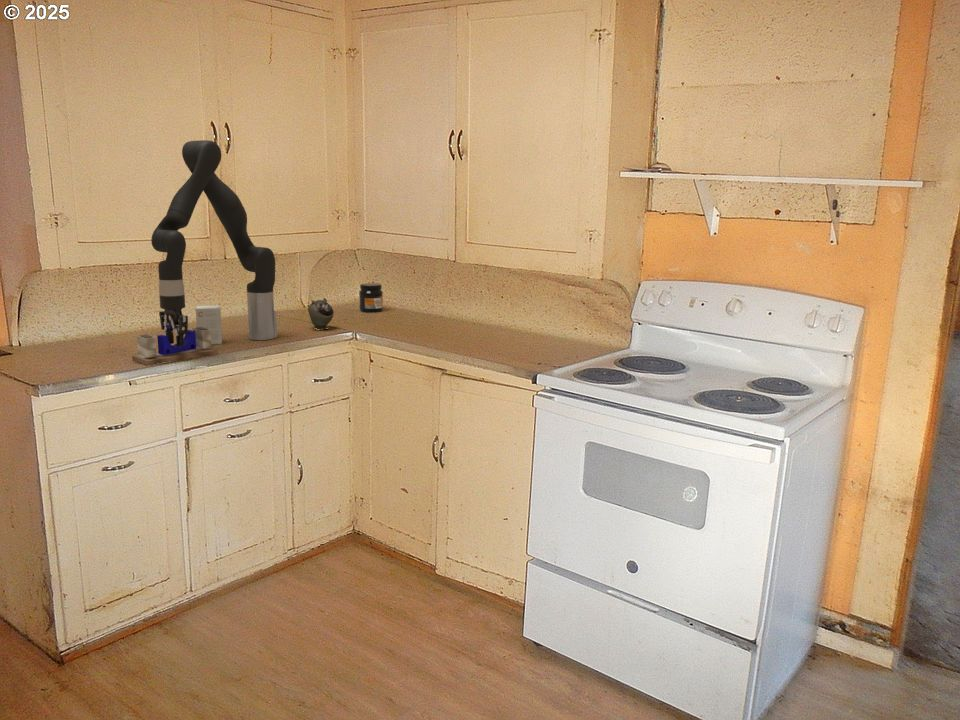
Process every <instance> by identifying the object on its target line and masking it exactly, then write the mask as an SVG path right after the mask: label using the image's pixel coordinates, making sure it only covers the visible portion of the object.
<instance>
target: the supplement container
mask: <svg viewBox="0 0 960 720" xmlns="http://www.w3.org/2000/svg"><path fill="white" fill-rule="evenodd" d="M382 286H383V285H382V284H381V283H375V282H367V283H361V284H359V288H360V290H359V291H358V292H359V307H358V308H359V310H360V312H364V313H380V312H382V311H383V309H384V308H383V305H384V303H383V301H384V299H383V295H384V293H383V290H382V288H383V287H382ZM379 311H380V312H379Z"/></svg>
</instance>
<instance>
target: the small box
mask: <svg viewBox="0 0 960 720" xmlns="http://www.w3.org/2000/svg"><path fill="white" fill-rule="evenodd" d="M221 313H222V312H221V305H216V304H215V305H197V306H195V321H196V328H197V327H203V328H207V329H209V330H210V331H211V345H223V332H222V331H223V330H222V317H221V316H222V314H221Z"/></svg>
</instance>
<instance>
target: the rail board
mask: <svg viewBox="0 0 960 720" xmlns="http://www.w3.org/2000/svg"><path fill="white" fill-rule="evenodd" d="M192 330H193V331H195V335H196V349H193V350H188V351H183V352H178V353H173V354H168V355H162V354H159V353H158V351H157V344H156V341H157V340H156V337H155V336H153V335H149V334H139V335H136V343H137V345H136V346H137V347H136V348H137V354H135V355H132V356H131V357H132V361H133V362H136V363H138V364H142V365H144V364H145V365H144V366H147V365H150V366H154V365H153V364H156V365H158V364H157V363H162V362H168V363H170V362H169V361H174V362H177V361H176V360H180V361H185V360H184V359H186V360H190V359H189V358H192V359H197V358H196V357H198V358H202V357H201V356H204V357H209V355H210V356H214V355H215V356H216V355H219V353H218V352H219V351H218V349H215V348H213V347H212V344H211V331H210V330H209V329H207V328H203V327H197V326H196V327H194V328H193V327H192ZM162 364H163V363H162Z"/></svg>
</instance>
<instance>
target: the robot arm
mask: <svg viewBox="0 0 960 720" xmlns="http://www.w3.org/2000/svg"><path fill="white" fill-rule="evenodd" d="M181 155H182V159H183V161H184V163H185V165H186V167H187V169H188V170H189V172H190V174H191V175H190V176H189V177H188V179H187V180H186V181H185V182H184V184H183V185H182V186H180V187H179V188H178V190H177V191H176V193H175V194H174V195H173V197H172V200H171V202H170V205H169V207H168V209H167V212H166V215H165V216H164V217H163V218H162V219H161V220H160V222H159V224H158V225H157V226H156V228H154V230H153V232H152V235H151V240H150V241H151V245H152V247H153V249H154V250H155V252H159V253H166V258H165V260H161V261H159V263H158V268H157V269H158V295H159V296H158V298H159V307H160V310H161V309H162V310H161V311H159V312H158V313H159V321H160V329H161V330H163V331H164V333H165V335H166V336H167V337H168V341H169V342H170V344H171V345H174V344H176V343H177V347H183V346H184V337H185V334H187V333H188V330H189V316H188V315H183V312H182V310H183V309H184V308H186V297H185V294H186V293H185V284H184V279H183V264H184V259H185V255H186V254H185V253H186V248H187V243H186V238H185V236H184V234H182V232H181V231H179V230H181V229H183V228H186V227H188V225H189V223H190V220H191V218H192V215H193V214H194V210H195V208H196V206H197V203H198V201H199V199H200V198H201V195H202V193H204V194H205V196H206V198H207V199H208V200H209V203H210V204H211V207H212V208H213V210H214V213H215V214H216V216H217V218H218V219H219V221H220V223H221V225H222V226H223V228H224V230H225V231H226V234H227V236H228V238H229V239H230V241H231V243H232V245H233V248H234V250H235V253H236V254H237V257H238V260H239V263H240V264H241V266H242V267H243V269H244V270H246V271H248V272H250V273H255V275H254V280H253V281H250V282H248V283H247V284H246V297H247V298H246V300H247V320H248V321H247V324H248V339H249V340H252V341H253V340H254V341H268V340H273V339H275V338H278V321H277V319H278V318H277V312H276V311H275V302H274V286H275V284H276V283H275V282H276V256H275V254H274V252H273V250H272V249H270V247H269V248H268V247H264V246H256V245H255V244H254V243H253V242H252V240H251V237H250V236H249V234H248V229H247V228H248V214H247V211H246V209H245V207H244V205H243V203H242V201H241V199H240V198H239V196H238V195H237V194H236V192H235V191H233V190H232V188H230V187H229V186H228V185H227V184H226V183H225V182H224V181H222V180H221V179H220V178H219V176H217V174H216V173H215V172H216V170H217V169H218V168H219V165H220V163H221V161H222V150H221V148H220V146H219V145H218V143H216V142H215V141H213V140H207V139H206V140H202V139H201V140H190V141H186V142H185V143H184V144H183V145H182V150H181ZM174 332H175V335H176V336H175V338H174ZM174 339H176V343H175V340H174Z"/></svg>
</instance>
